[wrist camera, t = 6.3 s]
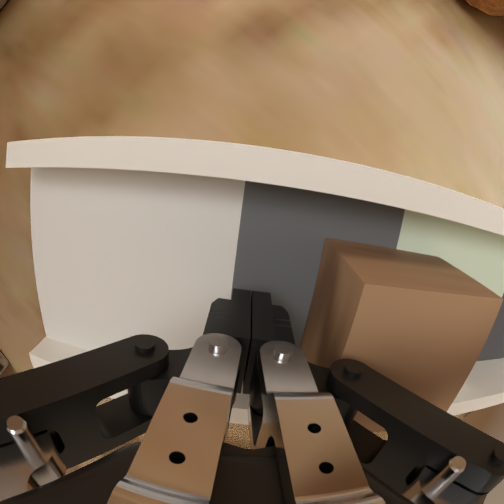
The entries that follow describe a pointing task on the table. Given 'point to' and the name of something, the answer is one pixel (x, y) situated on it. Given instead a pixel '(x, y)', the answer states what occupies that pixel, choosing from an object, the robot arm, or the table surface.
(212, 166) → the track
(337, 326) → the walnut block
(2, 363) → the coffee box
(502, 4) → the bread
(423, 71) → the table surface
